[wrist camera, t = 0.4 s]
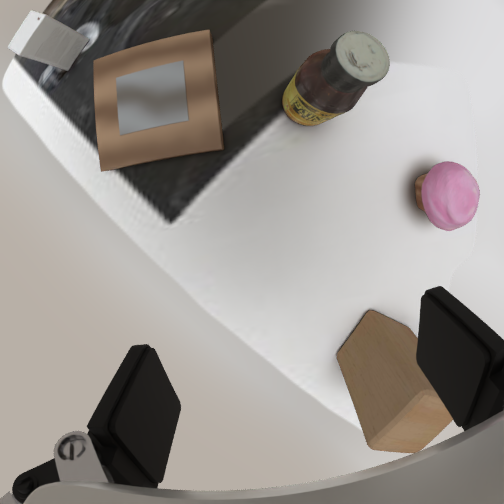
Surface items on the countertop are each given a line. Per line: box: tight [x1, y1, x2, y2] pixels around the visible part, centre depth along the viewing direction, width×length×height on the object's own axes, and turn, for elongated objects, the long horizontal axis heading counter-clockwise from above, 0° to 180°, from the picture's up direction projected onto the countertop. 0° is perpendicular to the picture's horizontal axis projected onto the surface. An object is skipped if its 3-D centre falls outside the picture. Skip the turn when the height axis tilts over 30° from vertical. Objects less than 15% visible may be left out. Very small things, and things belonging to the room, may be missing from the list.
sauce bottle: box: [282, 31, 390, 126], centre depth 25 cm, size 7×6×20 cm
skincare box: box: [8, 10, 89, 71], centre depth 25 cm, size 6×4×12 cm
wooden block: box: [337, 310, 453, 453], centre depth 35 cm, size 10×10×20 cm
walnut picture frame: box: [94, 30, 224, 171], centre depth 32 cm, size 16×16×3 cm
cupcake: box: [415, 162, 480, 231], centre depth 32 cm, size 9×9×10 cm
